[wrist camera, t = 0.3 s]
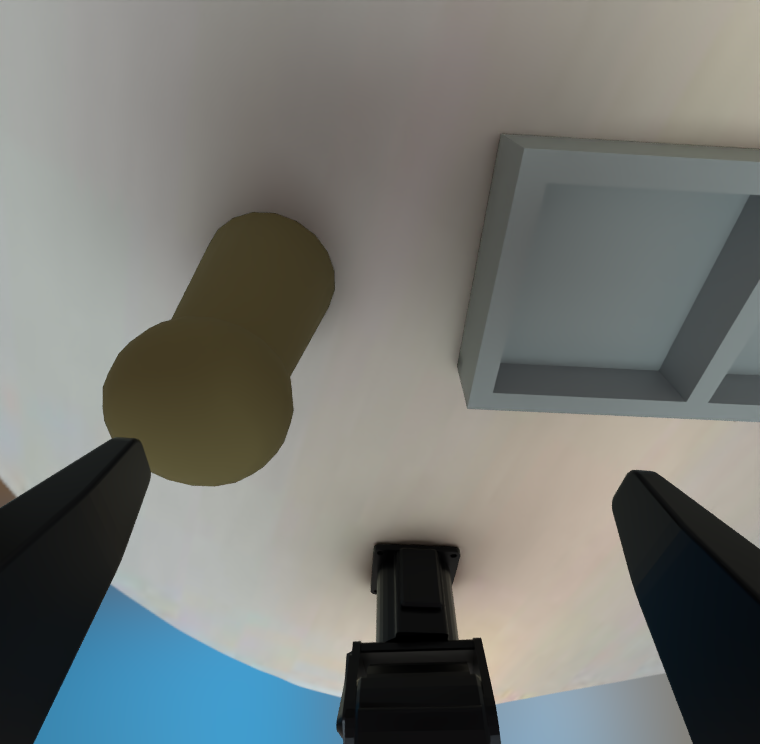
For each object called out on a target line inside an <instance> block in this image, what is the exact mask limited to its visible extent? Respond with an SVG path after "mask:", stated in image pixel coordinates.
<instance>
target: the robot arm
mask: <svg viewBox="0 0 760 744" xmlns="http://www.w3.org/2000/svg"><path fill="white" fill-rule="evenodd" d="M150 478H151V470H150V466H149V463H148V460H147V457H146V454H145V451H144V448H143V445H142V443H141V441H140V440H139V439H136V438H124V437H115V438H112V439H110V440H109V441H107V442H105V443H104V444H102V445H101V446H99V447H97V448H96V449H94V450H92V451H91V452H89V453H88V454H86V455H84V456H83V457H81V458H80V459H78V460H76V461H75V462H73V463H72V464H70V465H68V466H67V467H65V468H64V469H62V470H60V471H59V472H57V473H56V474H54V475H52V476H51V477H49V478H47V479H46V480H44V481H43V482H41V483H39V484H38V485H36V486H35V487H33V488H31V489H30V490H28V491H27V492H25V493H23V494H22V495H20V496H19V497H17V498H15V499H14V500H12V501H11V502H9V503H7V504H6V505H4V506H2V507H1V508H0V744H33V743H34V741H35V739H36V737H37V735H38V733H39V731H40V729H41V727H42V725H43V723H44V721H45V718H46V716H47V714H48V712H49V710H50V708H51V706H52V704H53V702H54V700H55V698H56V696H57V694H58V691H59V689H60V687H61V685H62V683H63V681H64V679H65V677H66V675H67V673H68V671H69V669H70V667H71V665H72V663H73V660H74V658H75V656H76V654H77V652H78V650H79V648H80V646H81V644H82V642H83V640H84V638H85V636H86V634H87V631H88V629H89V627H90V625H91V623H92V621H93V619H94V617H95V615H96V612H97V611H98V609H99V607H100V605H101V602H102V600H103V598H104V596H105V594H106V592H107V590H108V588H109V586H110V584H111V582H112V580H113V578H114V576H115V573H116V571H117V569H118V567H119V565H120V562H121V560H122V557H123V555H124V552H125V550H126V547H127V544H128V541H129V538H130V536H131V533H132V530H133V527H134V524H135V522H136V519H137V516H138V513H139V510H140V508H141V505H142V502H143V499H144V496H145V494H146V491H147V488H148V485H149V482H150ZM612 511H613V515H614V518H615V522H616V526H617V529H618V533H619V537H620V540H621V544H622V548H623V551H624V555H625V559H626V562H627V566H628V570H629V574H630V577H631V580H632V584H633V587H634V590H635V593H636V596H637V598H638V601H639V604H640V607H641V609H642V612H643V614H644V617H645V620H646V622H647V625H648V628H649V630H650V633H651V635H652V638H653V641H654V643H655V646H656V648H657V651H658V654H659V656H660V659H661V661H662V664H663V667H664V669H665V672H666V675H667V677H668V680H669V682H670V685H671V687H672V690H673V693H674V695H675V698H676V701H677V703H678V706H679V708H680V711H681V713H682V716H683V719H684V721H685V724H686V726H687V729H688V732H689V735H690V737H691V740H692V742H693V744H760V549H759V548H758V547H756V546H755V545H754V544H752V543H751V542H750V541H748V540H747V539H746V538H744V537H743V536H741V535H740V534H739V533H737V532H736V531H735V530H733V529H732V528H731V527H729V526H728V525H727V524H725V523H724V522H723V521H721V520H720V519H718V518H717V517H716V516H714V515H713V514H712V513H710V512H709V511H708V510H706V509H705V508H704V507H702V506H701V505H700V504H698V503H697V502H695V501H694V500H693V499H691V498H690V497H689V496H687V495H686V494H685V493H683V492H682V491H681V490H679V489H678V488H677V487H675V486H674V485H673V484H671V483H670V482H668V481H667V480H666V479H664V478H663V477H662V476H660V475H659V474H657V473H656V472H653V471H643V470H632V471H630V472H628V473H627V475H626V476H625V478H624V480H623V481H622V483H621V485H620V487H619V488H618V490H617V492H616V493H615V495H614V497H613V500H612ZM459 559H460V550H459V549H458V548H456V547H439V546H413V545H387V544H378V545H375V546H374V550H373V564H372V577H371V593H373V594H377V616H376V642H373V643H361V641H355V642H353V647H352V651H351V652H350V653H348V654H347V657H346V672H345V682H344V688H343V693H342V697H341V702H340V707H339V712H338V717H337V724H336V726H337V732H338V733H339V734H340V736H341V737H342V738H343V744H501V741H500V732H499V724H498V717H497V711H496V705H495V700H494V695H493V690H492V686H491V681H490V677H489V672H488V667H487V663H486V658H485V653H484V649H483V644H482V640H481V638H473V640H459V639H458V631H457V623H456V615H455V607H454V600H453V592H452V584H453V580H454V577H455V573H456V570H457V566H458V562H459Z"/></svg>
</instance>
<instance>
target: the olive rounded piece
mask: <svg viewBox="0 0 760 744" xmlns="http://www.w3.org/2000/svg"><path fill="white" fill-rule="evenodd" d="M334 290H335V281H334V269H333V266H332V263H331V260H330V258H329V255H328V252H327V251H326V249H325V248H324V247H323V245H322V244H321V243H320V241H319V240H318V239H317V237H316V236H315V235H314V234H313V233H312V232H310V231H309V230H308V229H306V228H305V227H304V226H302V225H301V224H300V223H298V222H297V221H295V220H292V219H289V218H286V217H284V216H281V215H278V214H276V213H259V212H252V213H249V214H245V215H242V216H238V217H235V218H233V219H231V220H230V221H229V222H227V223H226V224H225V225H223V226H222V227H221V228H220V229H218V230H217V232H216V234H215V235H214V237H213V239H212V240H211V242H210V244H209V246H208V248H207V250H206V252H205V253H204V255H203V257H202V259H201V261H200V263H199V265H198V267H197V269H196V271H195V273H194V275H193V277H192V279H191V281H190V283H189V285H188V287H187V289H186V291H185V293H184V295H183V297H182V299H181V301H180V303H179V305H178V307H177V309H176V311H175V313H174V315H173V317H172V319H171V320H169V321H165V322H161V323H159V324H157V325H155V326H153V327H151V328H149V329H148V330H146V331H145V332H143V333H142V334H141V335H139V336H138V337H136V338H135V339H134V340H132V341H131V342H129V344H128V345H127V346H126V347H125V348H124V349H123V350H122V351H121V352H120V353H119V354H118V356H117V358H116V360H115V362H114V363H113V365H112V367H111V369H110V371H109V373H108V375H107V378H106V380H105V383H104V385H103V414H104V421H105V424H106V426H107V428H108V431H109V433H110V435H111V438H115V437H124V438H136V439H139V440H140V441H141V443H142V445H143V448H144V451H145V454H146V457H147V460H148V463H149V466H150V470H151V472H152V473H154V474H156V475H159V476H161V477H163V478H165V479H168V480H171V481H175V482H179V483H184V484H188V485H192V486H220V485H225V484H230V483H236V482H238V481H240V480H242V479H244V478H246V477H248V476H250V475H252V474H253V473H255V472H257V471H258V470H260V469H261V468H263V467H264V466H265V465H266V464H267V463H268V462H269V461H270V460H271V459H272V457H273V456H274V455H275V454H276V453H277V452H278V450H279V449H280V447H281V446H282V444H283V443H284V441H285V438H286V435H287V432H288V429H289V426H290V423H291V419H292V415H293V411H294V409H293V398H292V388H291V379H290V376H291V374H292V372H293V371H294V369H295V367H296V365H297V363H298V362H299V360H300V358H301V356H302V354H303V353H304V351H305V349H306V347H307V345H308V344H309V342H310V340H311V338H312V336H313V335H314V333H315V331H316V329H317V327H318V326H319V324H320V322H321V320H322V318H323V317H324V315H325V313H326V311H327V309H328V308H329V305H330V302H331V299H332V296H333V293H334Z"/></svg>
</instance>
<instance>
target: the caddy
mask: <svg viewBox="0 0 760 744" xmlns="http://www.w3.org/2000/svg"><path fill="white" fill-rule="evenodd" d="M457 368H458V372H459V376H460V380H461V385H462V389H463V393H464V397H465V401H466V406H467V409H484V410H505V411H527V412H549V413H571V414H593V415H615V416H637V417H659V418H680V419H702V420H724V421H746V422H760V149H750V148H734V147H717V146H700V145H683V144H667V143H650V142H633V141H616V140H600V139H583V138H566V137H549V136H533V135H516V134H501V136H500V141H499V146H498V152H497V157H496V162H495V168H494V173H493V178H492V184H491V189H490V194H489V200H488V205H487V210H486V216H485V221H484V226H483V232H482V237H481V242H480V248H479V253H478V258H477V263H476V269H475V274H474V279H473V285H472V290H471V295H470V301H469V306H468V311H467V317H466V322H465V327H464V333H463V338H462V343H461V349H460V354H459V359H458V364H457Z"/></svg>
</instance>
